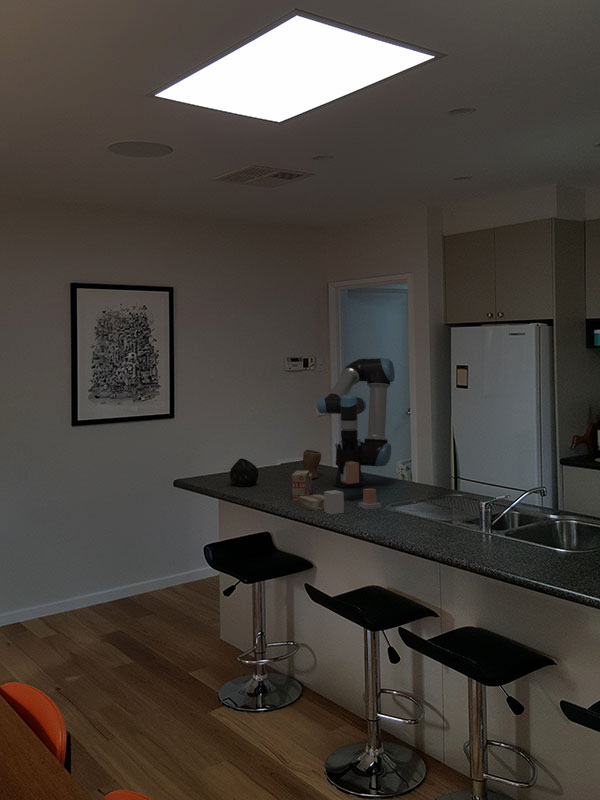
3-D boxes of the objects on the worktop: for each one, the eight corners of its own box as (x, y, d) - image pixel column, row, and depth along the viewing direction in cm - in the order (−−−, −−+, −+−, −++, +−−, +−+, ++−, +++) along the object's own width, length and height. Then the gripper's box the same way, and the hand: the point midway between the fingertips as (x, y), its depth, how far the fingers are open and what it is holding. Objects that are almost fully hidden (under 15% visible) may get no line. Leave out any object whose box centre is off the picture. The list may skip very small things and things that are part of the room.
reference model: (371, 505, 334) (371, 487, 334) (381, 508, 328) (380, 489, 328) (358, 507, 331) (358, 488, 331) (367, 509, 325) (367, 491, 324)
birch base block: (320, 502, 341) (320, 494, 341) (334, 507, 330) (334, 498, 330) (297, 505, 335) (297, 496, 335) (310, 510, 324) (310, 501, 324)
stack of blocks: (300, 492, 367) (299, 467, 366) (312, 492, 366) (312, 467, 365) (292, 501, 346) (291, 474, 345) (305, 501, 345) (305, 474, 344)
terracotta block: (351, 480, 348) (351, 461, 347) (359, 482, 342) (358, 462, 342) (340, 481, 345) (340, 462, 344) (347, 483, 339) (347, 464, 339)
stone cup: (324, 479, 404) (324, 451, 403) (303, 480, 400) (303, 452, 399) (315, 474, 418) (314, 447, 417) (294, 476, 415) (294, 448, 414)
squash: (259, 471, 397) (240, 451, 393) (267, 477, 383) (247, 456, 379) (239, 490, 395) (220, 470, 390) (246, 496, 381) (227, 476, 376)
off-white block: (336, 511, 324) (335, 490, 323) (343, 513, 318) (343, 492, 318) (324, 512, 321) (323, 491, 320) (331, 515, 316) (331, 493, 315)
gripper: (362, 427, 349) (362, 476, 351) (326, 430, 340) (327, 481, 342) (371, 428, 343) (371, 479, 345) (335, 431, 334) (336, 483, 336)
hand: (349, 480), depth 343 cm, fingers closed on terracotta block, 6 cm apart
